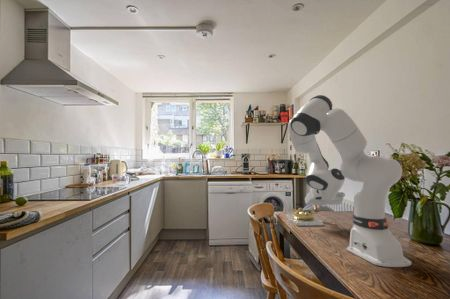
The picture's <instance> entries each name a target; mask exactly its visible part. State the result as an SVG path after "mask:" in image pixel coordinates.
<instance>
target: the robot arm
mask: <svg viewBox="0 0 450 299" xmlns="http://www.w3.org/2000/svg"><path fill="white" fill-rule="evenodd" d="M287 127H288V129H287V130H288V134H289V137H290V141H291V144H292V146H293V149H294V150H295V151H296V152H297V153H299V154H301V155H302V154H303V155H304V154H308V157H309V160H310V161H309V166H308V169H307V172H306V175H305V177H304V182H305V183H306V184H307V185H308V186H309V188H310V189H309V192H307V194H306V195H305V197H304V202H305V204H306V205H307V206H314V205H317V208H319V209H323V208H324V207H326V206H329V205H330V206H331V205H333V206H336V205H337V206H338V205H341V204H342V202H343V200H344V197H345V195H346V194H345V192H342V191H340V190H341V189H342V186H343V185H344V182H345V180H346V179H348V180H349V181H350V180H351V181H353V182H359V183H362V184H363V186H362V188H361V190H360V191H359V192H357V193H356V194H355V195H354V197H353V214H352V223H353V225H352V228H351V229H350V233H349V234H350V235H349V244H348V246H347V247H346V251H348V252H350V253H352V254H353V255H355V256H357V257H359V258H361V259H363V260H365V261H368V262H369V263H371V264H373V265H375V266H379V267H385V268H405V267H410V266H412V264H413V263H412V260H410V259H408V258H407V257H405V256H404V252H403V247H402V244H401V242H400V240H397V238H396V237H395V236H394V235H393V233H392V232H391V231H390V229H389V228H390V227H389V226H391V225H390V222H388V221H387V218H386V215H385V214H386V210H385V209H386V198H387V195H388V192H389V190H390V189H391V188H392V186H394V185H395V184H397V183H398V182H399V181H400V179H401V178H402V176H403V168H402V165H401V164H400V162H399V161H398V160H396V159H394V158H390V157H386V156H368V155H367V154H366V153H365V150H366V147H367V145H368V144H367V142H368V141H367V139H366V137H365V136H364V135H363V133H362V132H361V130H360V128H359V127H358V125H357V124H356V123H355V122H354V120H353V118H351V117H350V116H349V115H348V113H347V112H346V111H345V110H343V109H342V108H337V107H335V108H333V102H332V101H331V99H330V98H329V97H327V96H326V95H322V94H321V95H320V94H319V95H315V96H314V97H312V98H310V99H309V101H307V102H306V103H305V104H303V105H302V106H301V107H300V108H299V109H298V110H297V112H296V113H295V114H293V116H292V118H291V119H289V121H288V124H287ZM320 131H322V132H324V133H325V134H326V135H327V136H328V138H329V140H330V142H331V143H332V144H333V145H334V147H335V149H336V150H337V151H338V153H339V155H340V157H341V161H342V162H341V164H340V169H338V168H331V169H329V167H330V165H329V164H330V163H329V162H328V161H327V159H326V158H324V156H323V154H322V151H321V149H320V146H319V144H318V142H317V138H316V135H318V134H319V133H320ZM339 191H340V192H339Z"/></svg>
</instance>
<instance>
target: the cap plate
mask: <svg viewBox="0 0 450 299" xmlns="http://www.w3.org/2000/svg"><path fill="white" fill-rule="evenodd" d="M285 215H286V216H285V217H286V218H287V219H288V221H289V220H290V222H291V223H292V224H294V225H295V226H297V227H308V226H309V227H310V226H311V227H312V226H315V227H317V226H318V227H321V226H324V221H322V220H321V219H319V218H318V217H317V216H314V219H311V220H303V219H297V218H294V217H293V213H285Z"/></svg>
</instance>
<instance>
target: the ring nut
mask: <svg viewBox="0 0 450 299" xmlns="http://www.w3.org/2000/svg"><path fill="white" fill-rule="evenodd" d="M313 206H314V207H313V208H314V209H311V208H307V209H303V208H302V207H298V209H296V208H293V209H292V214H293V217H294V218H297V219H303V220H311V219H314V217H315V213H319V212H320V210H319V209H320V208H317V205H313Z"/></svg>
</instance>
